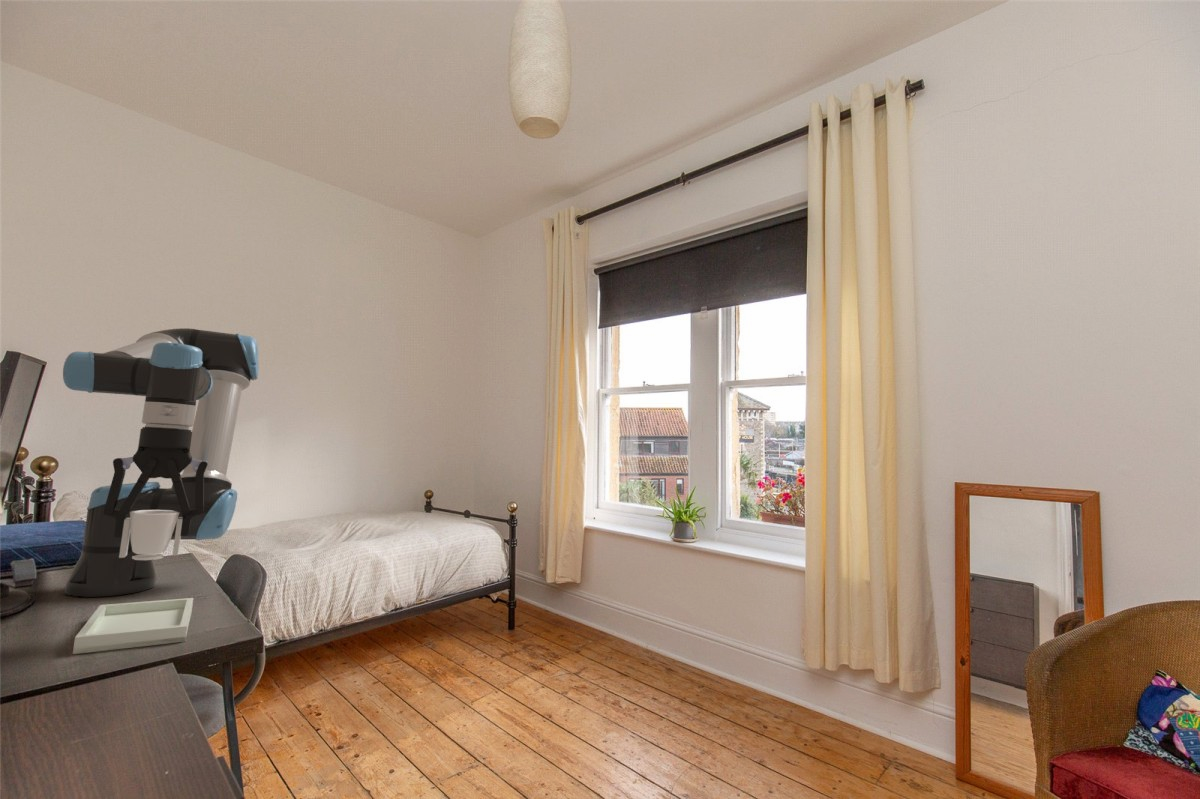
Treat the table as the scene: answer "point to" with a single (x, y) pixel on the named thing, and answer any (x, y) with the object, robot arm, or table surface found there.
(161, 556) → the cup
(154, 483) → the robot arm
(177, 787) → the table surface
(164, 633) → the tray
